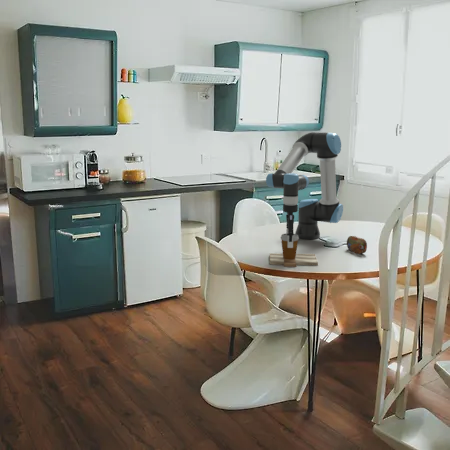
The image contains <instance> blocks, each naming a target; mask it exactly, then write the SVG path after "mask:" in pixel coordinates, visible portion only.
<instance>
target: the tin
mask: <svg viewBox="0 0 450 450" xmlns="http://www.w3.org/2000/svg"><path fill="white" fill-rule="evenodd" d="M346 247H347V249H348V250H349V251H350V252H353V253H355V254H359V255H360V254H364V253H366V251H367V248H368V243H367V241H366V239H365V238H361V237H358V236H356V235H350V236H348V237H347V240H346Z"/></svg>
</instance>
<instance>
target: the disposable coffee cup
mask: <svg viewBox="0 0 450 450" xmlns="http://www.w3.org/2000/svg"><path fill="white" fill-rule="evenodd" d="M287 234H288V233H287ZM287 234H286V233H282V234H281V236H280V240H281V248H282V254H283V258H285V259H295V257H296V254H297V251H298V250H297V249H298V245H299V244H298V241H299V239H300V238H299V237H298V235H297V234H295V233H294V235H293V248H288V235H287Z"/></svg>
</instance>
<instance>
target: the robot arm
mask: <svg viewBox="0 0 450 450" xmlns="http://www.w3.org/2000/svg"><path fill="white" fill-rule="evenodd" d="M291 148H292V149H291V150H290V151H289V153H288V154H287V156H286V157H285V158H284V160H283V161H282V162H281V164H280V165H279V166H278V168H277V169H276V171H275V172H274V173H273V172H272V173H268V174H267V175H266V179H265V183H266V186H267V187H268V188H273V189H282V190H283V194H282V195H283V197H281V199H282V203H283V204H282V211H283V212H284V213H286V215H285V219H286V225H285V226H286V233H285V234H287V233H288V234H287V235H288V248H293V235H294V234H297V235H298V237H299V239H300V240H301V239H302V240H316V239H317V240H318V239H319V238H320V237H321V233H320V228H319V225H318V222H323V223H330V224H337V223H339V222H340V221H341V219H342V216H343V212H344V205H343V204H342V203H340V199H339V198H338V197H337V178H336V177H337V175H336V174H337V172H336V159H337V157H338V155H339V154H340V153H341V151H342V149H341V148H342V141H341V138H340V136H339V135H338V134H337V133H335V132H313V131H312V132H308V133H305V134H304V135H302V136H301V137H299V138H298V139H296V141H295V142H294V143H293V144H292V147H291ZM308 154H316V157H317V159H319V167H320V170H319V171H320V187H321V190H320V191H321V192H320V193H321V198H320V199H318V198H308V199H301V200H300V201H299V191H301V190H305V189H307V187H308V186H309V184H310V180H309V177H308V176H307V175H305V174H298V173H294V172H293V171H294V170H295V169H296V167H297V166H298V165H299V163H300V162H301V161H302V159H303V158H304V157H307V155H308ZM297 212H298V220H297V221H298V223H297V227H296V229H295V232H294V224H295V221H294V219H295V215H294V213H297Z"/></svg>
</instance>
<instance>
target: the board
mask: <svg viewBox="0 0 450 450" xmlns="http://www.w3.org/2000/svg"><path fill="white" fill-rule="evenodd" d="M269 264H270V265H275V266H277V265H278V266H284V267H285V268H286V267H289V268H292V267H293V268H295V267H297V266H319V262H318V259H317V256H316V254H315V253H296V257H295V259H285V258H283V253H277V252H275V253H271V252H270V253H269Z"/></svg>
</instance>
